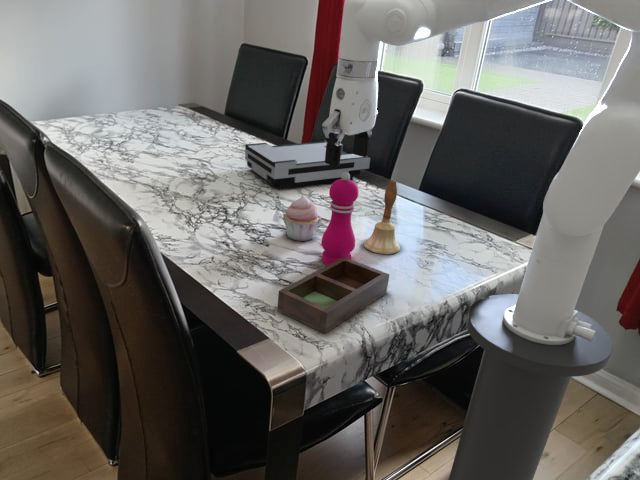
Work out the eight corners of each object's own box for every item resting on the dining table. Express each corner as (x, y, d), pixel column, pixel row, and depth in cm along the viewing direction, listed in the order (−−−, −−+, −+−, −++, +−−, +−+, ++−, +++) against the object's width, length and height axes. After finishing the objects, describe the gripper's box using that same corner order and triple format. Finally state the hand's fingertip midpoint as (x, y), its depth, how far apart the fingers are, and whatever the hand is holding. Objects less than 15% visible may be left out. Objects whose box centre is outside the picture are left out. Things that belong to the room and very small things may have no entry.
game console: (367, 180, 176) (370, 153, 172) (273, 191, 164) (275, 163, 160) (332, 161, 193) (334, 136, 189) (244, 170, 181) (245, 144, 177)
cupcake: (314, 227, 142) (317, 188, 137) (324, 243, 134) (328, 202, 129) (277, 229, 141) (279, 189, 136) (285, 244, 133) (287, 203, 128)
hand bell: (388, 237, 138) (398, 173, 130) (406, 252, 131) (418, 185, 124) (357, 241, 136) (366, 175, 128) (374, 256, 129) (384, 187, 121)
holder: (386, 293, 114) (389, 274, 112) (324, 334, 100) (327, 313, 98) (341, 275, 120) (343, 256, 118) (277, 311, 107) (278, 290, 105)
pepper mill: (333, 251, 130) (343, 165, 121) (359, 262, 126) (371, 173, 116) (312, 260, 126) (320, 171, 116) (338, 271, 122) (349, 180, 112)
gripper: (347, 76, 99) (336, 173, 107) (398, 68, 110) (385, 156, 119) (313, 70, 103) (304, 163, 112) (365, 63, 115) (354, 148, 123)
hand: (346, 159), depth 115 cm, fingers open, 9 cm apart
